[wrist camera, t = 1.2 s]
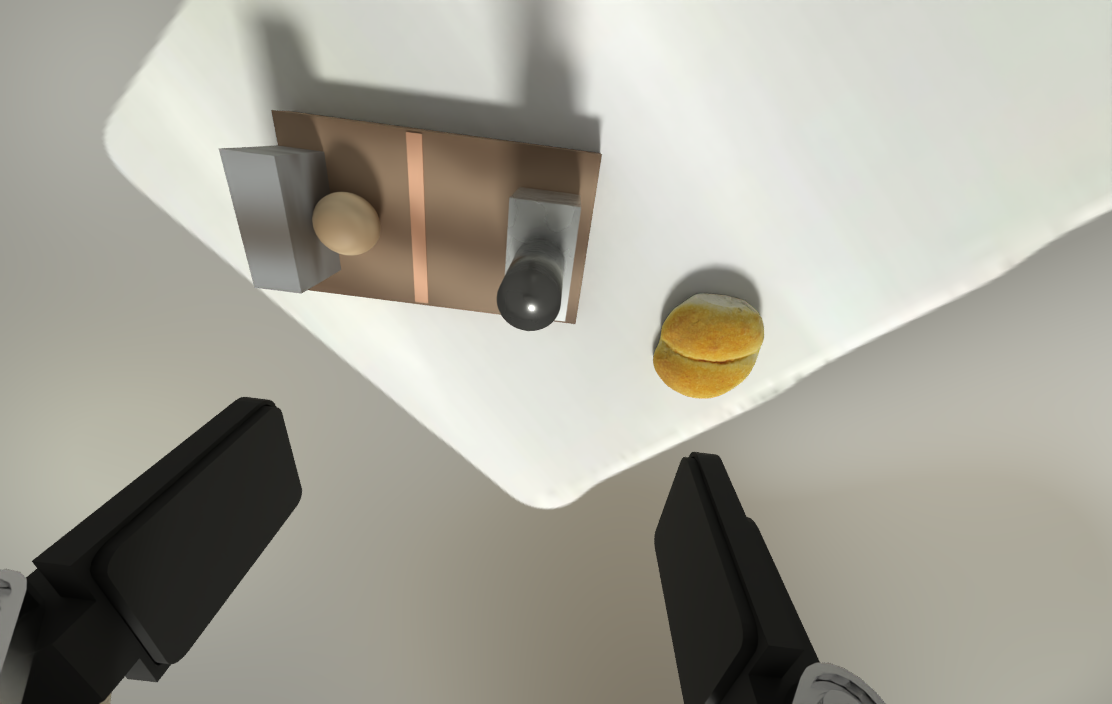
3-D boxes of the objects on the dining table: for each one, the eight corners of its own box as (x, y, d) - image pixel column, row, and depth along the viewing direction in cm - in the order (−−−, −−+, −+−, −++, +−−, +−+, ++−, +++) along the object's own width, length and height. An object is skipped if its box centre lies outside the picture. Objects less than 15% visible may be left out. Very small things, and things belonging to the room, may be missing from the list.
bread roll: (643, 379, 36) (650, 406, 33) (669, 285, 32) (681, 304, 29) (734, 391, 37) (750, 419, 33) (771, 299, 32) (795, 320, 29)
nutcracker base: (291, 111, 27) (207, 106, 21) (600, 153, 28) (606, 159, 21) (320, 281, 33) (261, 316, 27) (575, 313, 33) (575, 355, 27)
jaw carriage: (519, 187, 26) (488, 218, 17) (580, 194, 27) (582, 230, 17) (512, 287, 30) (483, 361, 20) (566, 294, 30) (562, 370, 20)
